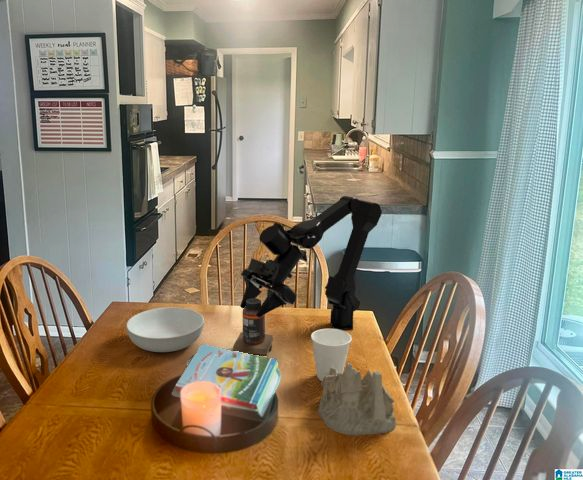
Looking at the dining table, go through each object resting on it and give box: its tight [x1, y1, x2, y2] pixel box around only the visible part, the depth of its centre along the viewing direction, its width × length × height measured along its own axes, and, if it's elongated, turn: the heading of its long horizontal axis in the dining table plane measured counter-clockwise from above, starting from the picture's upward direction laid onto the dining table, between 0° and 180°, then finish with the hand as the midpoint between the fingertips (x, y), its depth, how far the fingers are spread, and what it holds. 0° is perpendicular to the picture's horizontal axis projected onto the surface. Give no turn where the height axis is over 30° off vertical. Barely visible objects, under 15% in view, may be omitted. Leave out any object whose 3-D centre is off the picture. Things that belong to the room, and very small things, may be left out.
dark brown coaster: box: [232, 331, 274, 357], centre depth 140 cm, size 9×9×4 cm
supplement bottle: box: [242, 297, 266, 344], centre depth 138 cm, size 6×6×11 cm
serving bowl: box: [125, 306, 205, 353], centre depth 144 cm, size 21×21×7 cm
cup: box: [310, 328, 353, 382], centre depth 128 cm, size 10×10×11 cm
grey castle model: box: [317, 362, 397, 436], centre depth 113 cm, size 16×16×15 cm
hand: (249, 311), depth 136 cm, fingers open, 7 cm apart
